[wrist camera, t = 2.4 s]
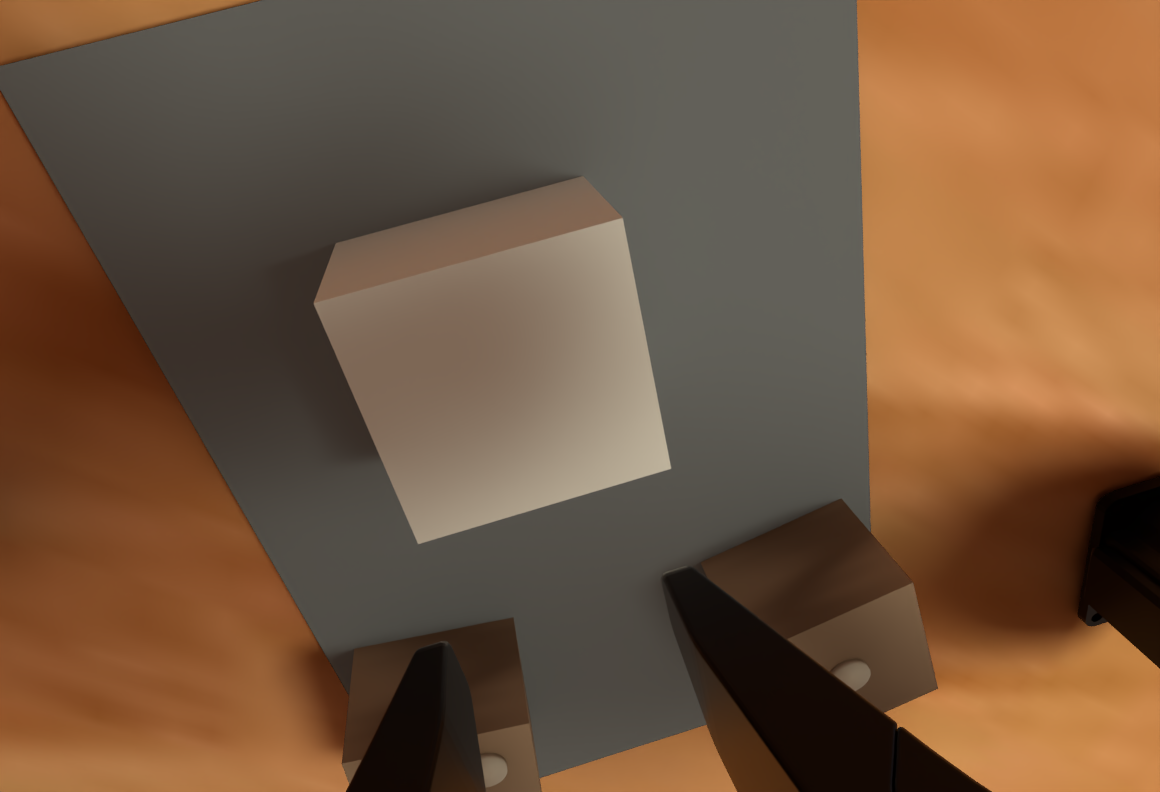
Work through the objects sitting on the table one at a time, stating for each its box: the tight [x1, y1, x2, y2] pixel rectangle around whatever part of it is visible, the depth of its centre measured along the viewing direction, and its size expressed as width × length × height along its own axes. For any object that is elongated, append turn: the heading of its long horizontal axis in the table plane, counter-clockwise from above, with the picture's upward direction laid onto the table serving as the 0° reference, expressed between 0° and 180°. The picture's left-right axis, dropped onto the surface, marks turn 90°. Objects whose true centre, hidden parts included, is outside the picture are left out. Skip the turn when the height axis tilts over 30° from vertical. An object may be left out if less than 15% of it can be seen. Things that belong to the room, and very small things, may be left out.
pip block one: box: [700, 498, 938, 713], centre depth 23 cm, size 5×5×4 cm
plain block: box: [314, 176, 671, 544], centre depth 17 cm, size 6×6×4 cm
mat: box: [0, 0, 871, 778], centre depth 21 cm, size 18×26×1 cm
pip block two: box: [342, 617, 542, 792], centre depth 23 cm, size 5×5×4 cm
